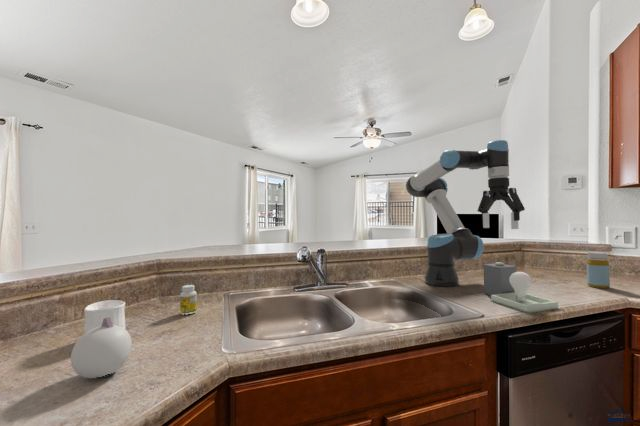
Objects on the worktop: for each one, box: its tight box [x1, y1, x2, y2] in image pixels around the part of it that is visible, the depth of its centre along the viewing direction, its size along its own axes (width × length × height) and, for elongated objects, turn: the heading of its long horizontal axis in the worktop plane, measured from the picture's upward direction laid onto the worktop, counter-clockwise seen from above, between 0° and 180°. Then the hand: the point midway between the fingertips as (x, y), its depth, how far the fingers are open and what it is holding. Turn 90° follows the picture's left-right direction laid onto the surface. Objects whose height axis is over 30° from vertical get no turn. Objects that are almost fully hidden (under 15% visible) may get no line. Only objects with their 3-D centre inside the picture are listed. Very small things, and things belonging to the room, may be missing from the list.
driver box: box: [482, 261, 518, 296], centre depth 115 cm, size 8×8×13 cm
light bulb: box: [509, 271, 533, 302], centre depth 103 cm, size 7×7×11 cm
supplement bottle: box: [179, 284, 198, 313], centre depth 100 cm, size 5×5×10 cm
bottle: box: [586, 251, 611, 289], centre depth 124 cm, size 7×7×15 cm
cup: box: [83, 299, 126, 335], centre depth 79 cm, size 10×10×10 cm
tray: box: [490, 292, 559, 314], centre depth 102 cm, size 14×14×2 cm
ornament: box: [70, 317, 133, 379], centre depth 61 cm, size 10×10×12 cm
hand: (499, 228), depth 119 cm, fingers open, 13 cm apart
